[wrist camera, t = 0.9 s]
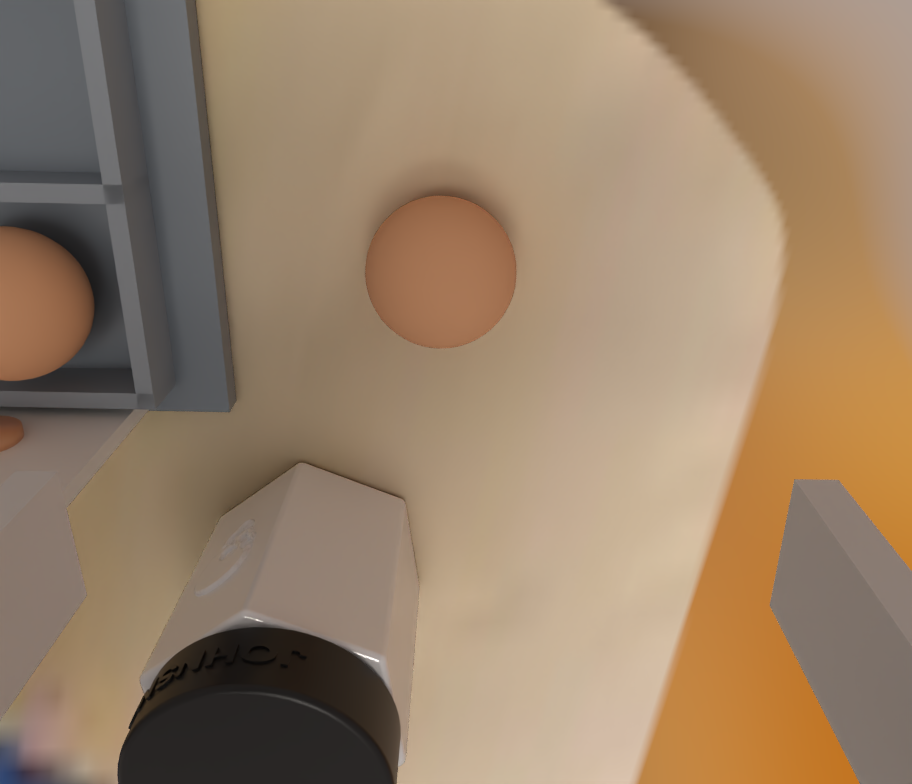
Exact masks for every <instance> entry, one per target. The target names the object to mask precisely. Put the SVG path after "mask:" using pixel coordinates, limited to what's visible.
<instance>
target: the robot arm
mask: <svg viewBox="0 0 912 784" xmlns="http://www.w3.org/2000/svg"><path fill="white" fill-rule="evenodd" d="M86 596H87V593H86V589H85V585H84V581H83V576H82V572H81V568H80V564H79V559H78V555H77V551H76V547H75V542H74V538H73V534H72V530H71V525H70V521H69V517H68V513H67V509H66V504H65V500H64V496H63V492H62V487H61V483H60V479H59V475H58V472H53V471H15V472H14V473H13V474H12V475H11V476H10V477H9V478H8V479H7V480H6V481H5V482H4V483H3V484H2V485H1V486H0V720H1V719H2V717H3V716H4V714H5V713H6V711H7V710H8V708H9V707H10V706H11V704H12V703H13V701H14V700H15V698H16V697H17V695H18V694H19V693H20V691H21V690H22V688H23V687H24V685H25V684H26V683H27V681H28V680H29V678H30V677H31V675H32V674H33V672H34V671H35V670H36V668H37V667H38V665H39V664H40V662H41V661H42V659H43V658H44V657H45V655H46V654H47V652H48V651H49V649H50V648H51V647H52V645H53V644H54V642H55V641H56V639H57V638H58V636H59V635H60V634H61V632H62V631H63V629H64V628H65V626H66V625H67V623H68V622H69V621H70V619H71V618H72V616H73V615H74V613H75V612H76V611H77V609H78V608H79V606H80V605H81V603H82V602H83V600H84V599H85V598H86ZM770 607H771V609H772V611H773V613H774V615H775V617H776V619H777V621H778V623H779V625H780V627H781V629H782V630H783V633H784V634H785V636H786V638H787V640H788V642H789V644H790V646H791V648H792V650H793V652H794V654H795V656H796V658H797V660H798V662H799V664H800V666H801V668H802V670H803V672H804V674H805V676H806V678H807V680H808V682H809V684H810V686H811V688H812V690H813V692H814V694H815V696H816V698H817V700H818V702H819V704H820V706H821V708H822V709H823V711H824V713H825V715H826V717H827V719H828V721H829V723H830V725H831V727H832V729H833V731H834V733H835V735H836V737H837V739H838V741H839V743H840V745H841V747H842V749H843V751H844V753H845V755H846V757H847V759H848V761H849V763H850V765H851V767H852V769H853V771H854V773H855V774H856V777H857V779H858V780H859V783H860V784H912V571H911V570H910V569H909V567H908V566H907V565H906V564H905V562H904V561H903V560H902V559H901V558H900V556H899V555H898V554H897V553H896V551H895V550H894V549H893V547H892V546H891V545H890V544H889V542H888V541H887V540H886V539H885V537H884V536H883V535H882V534H881V532H880V531H879V530H878V529H877V528H876V526H875V525H874V524H873V523H872V521H871V520H870V519H869V518H868V516H867V515H866V514H865V512H864V511H863V510H862V509H861V507H860V506H859V505H858V504H857V502H856V501H855V500H854V499H853V497H852V496H851V495H850V494H849V493H848V491H847V490H846V489H845V488H844V486H843V485H842V484H841V483H840V481H839V480H794V484H793V489H792V494H791V500H790V505H789V510H788V515H787V520H786V525H785V530H784V536H783V541H782V546H781V551H780V556H779V561H778V566H777V571H776V577H775V581H774V586H773V591H772V597H771V602H770Z"/></svg>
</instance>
